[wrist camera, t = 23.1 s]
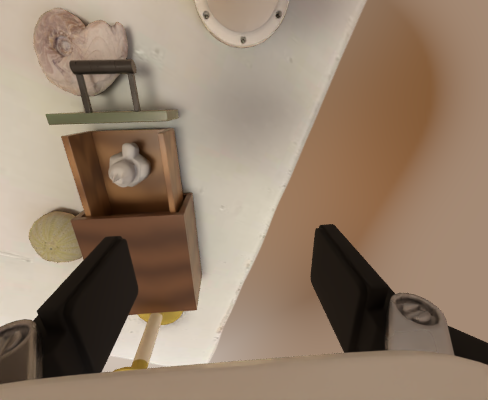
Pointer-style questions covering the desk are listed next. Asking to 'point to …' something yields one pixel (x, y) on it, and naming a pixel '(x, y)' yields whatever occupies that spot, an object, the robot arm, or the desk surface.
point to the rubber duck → (128, 166)
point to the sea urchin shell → (55, 237)
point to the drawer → (110, 143)
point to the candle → (150, 337)
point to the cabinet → (153, 254)
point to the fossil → (77, 49)
